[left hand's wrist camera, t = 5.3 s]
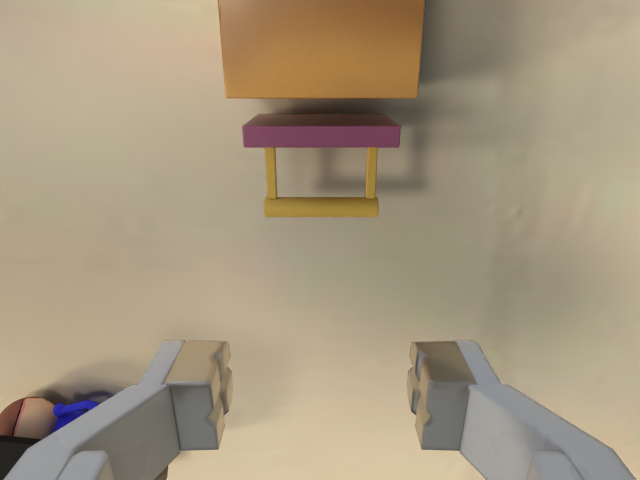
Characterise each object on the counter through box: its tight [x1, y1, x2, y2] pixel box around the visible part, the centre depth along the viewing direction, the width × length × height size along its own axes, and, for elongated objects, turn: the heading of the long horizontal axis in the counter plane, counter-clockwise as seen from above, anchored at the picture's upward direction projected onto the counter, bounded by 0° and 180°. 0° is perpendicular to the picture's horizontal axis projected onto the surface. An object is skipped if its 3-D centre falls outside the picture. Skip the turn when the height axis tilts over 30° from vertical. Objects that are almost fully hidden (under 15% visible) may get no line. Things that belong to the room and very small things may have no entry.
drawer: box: [242, 114, 401, 217], centre depth 24 cm, size 26×9×6 cm, turn 0°
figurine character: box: [0, 397, 168, 480], centre depth 38 cm, size 7×8×15 cm
